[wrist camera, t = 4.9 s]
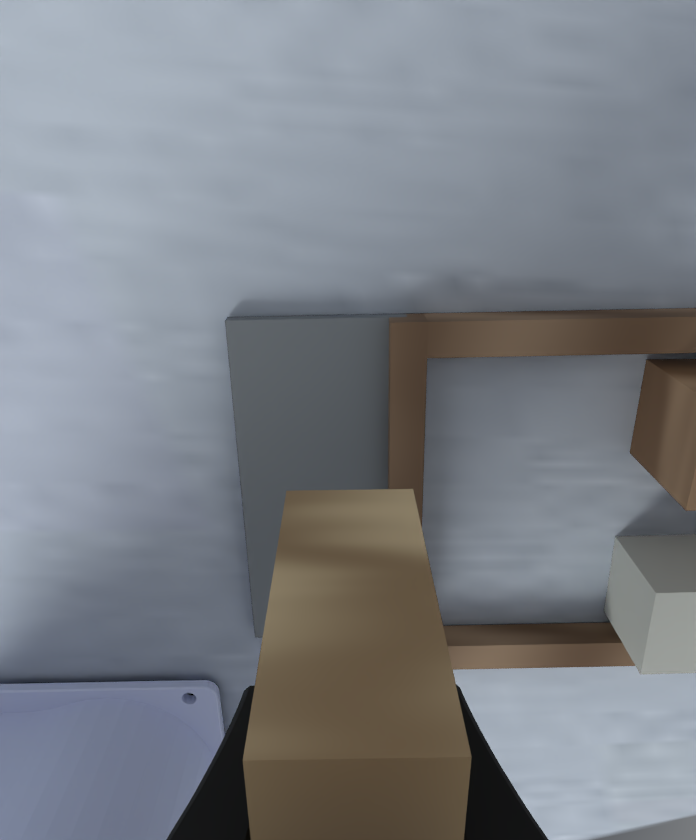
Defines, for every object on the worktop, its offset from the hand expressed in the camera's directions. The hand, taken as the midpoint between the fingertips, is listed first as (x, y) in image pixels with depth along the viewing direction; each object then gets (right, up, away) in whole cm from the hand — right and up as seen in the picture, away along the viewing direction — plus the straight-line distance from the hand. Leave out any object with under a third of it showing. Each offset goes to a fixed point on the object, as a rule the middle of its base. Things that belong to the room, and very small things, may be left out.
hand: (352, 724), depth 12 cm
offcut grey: (+10, 0, +10) cm, 14 cm away
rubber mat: (-1, +3, +8) cm, 9 cm away
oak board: (0, +1, +2) cm, 2 cm away
